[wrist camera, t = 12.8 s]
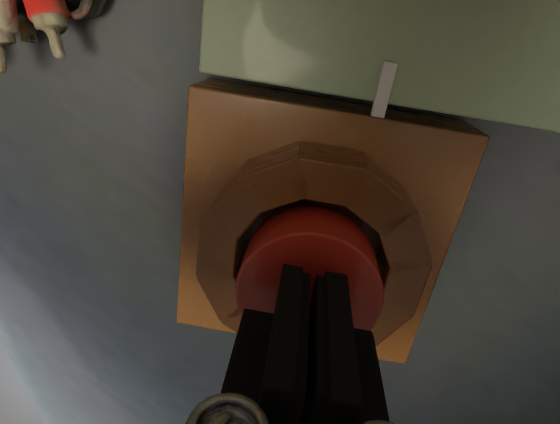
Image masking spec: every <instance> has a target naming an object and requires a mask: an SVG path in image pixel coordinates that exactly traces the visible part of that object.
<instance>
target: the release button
mask: <svg viewBox="0 0 560 424" xmlns="http://www.w3.org/2000/svg"><path fill="white" fill-rule="evenodd" d="M283 263H284V264H290V265H295V266H301V267H303V273H309V274H311V281H310V302H311V298H312V293H313V288H314V284H315V280H316V276H317V275H320V276H324V274H325V272H326V271H330V272H335V273H341V274H346V275H347V276H348V284H349V292H350V301H351V309H352V317H353V326H354V328H358V329H363V330H369V331H370V330H371V329H372V328H373V327H374V325H375V323H376V322H377V320H378V318H379V316H380V313H381V311H382V307H383V302H384V289H383V283H382V279H381V275H380V271H379V267H378V263H377V259H376V255H375V251H374V248H373V245H372V243H371V241H370V239H369V238H368V236H367V234H366V233H365V232H364V231H363V229H362V228H361V227H360V226H359V225H358V224H356V223H355V222H354V221H353V220H351V219H350V218H348V217H347V216H345V215H343V214H341V213H339V212H336V211H333V210H330V209H326V208H321V207H297V208H292V209H288V210H285V211H283V212H280V213H278V214H276V215H274V216H272V217H270V218H269V219H268V220H266V221H265V222H264V223H263V224H262V225H261V226H260V227H259V228H258V229H257V230H256V231H255V233H254V234H253V236H252V238H251V239H250V241H249V244H248V247H247V249H246V252H245V255H244V258H243V261H242V264H241V267H240V270H239V273H238V276H237V280H236V287H235V294H236V301H237V305H238V309H239V311H240V313H241V316H242V314H243V311H244V309H245V308H246V309H252V310H257V311H263V312H268V313H274V310H275V305H276V299H277V293H278V288H279V282H280V276H281V271H282V265H283Z"/></svg>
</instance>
